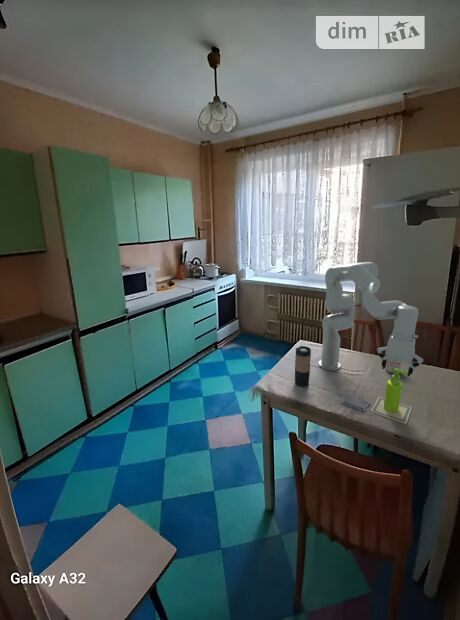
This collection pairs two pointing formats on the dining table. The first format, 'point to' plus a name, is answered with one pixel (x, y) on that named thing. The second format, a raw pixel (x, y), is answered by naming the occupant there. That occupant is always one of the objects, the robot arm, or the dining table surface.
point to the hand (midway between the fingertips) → (396, 371)
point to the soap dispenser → (393, 392)
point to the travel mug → (302, 366)
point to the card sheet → (398, 416)
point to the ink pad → (356, 403)
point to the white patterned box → (393, 365)
